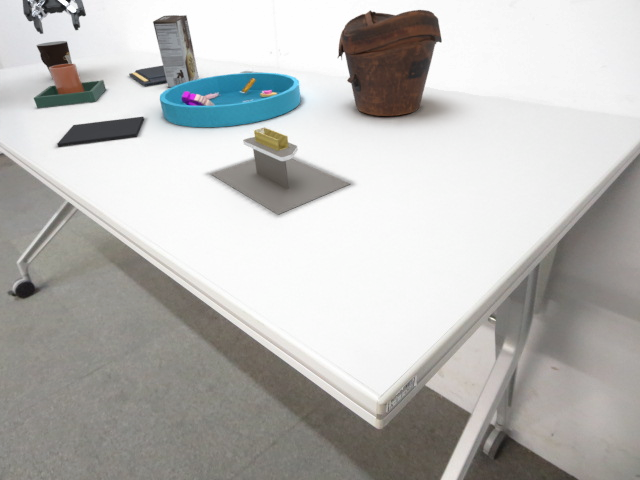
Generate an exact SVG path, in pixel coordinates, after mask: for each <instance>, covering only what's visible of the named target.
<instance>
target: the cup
mask: <svg viewBox="0 0 640 480" xmlns="http://www.w3.org/2000/svg"><path fill="white" fill-rule="evenodd" d="M49 70H50V72H51V74H50V76H51V75H52V76H51V78H52V80H53V83H54V85H55V86H56V89H57V91H58V94H68V93H77V92H85V91H84V88H83V85H82V78H81V76H80V74H79V70H78V67H77V65H76V63H72V64H61V65H55V66H52V67H49ZM49 70H48V71H49ZM50 72H49V73H50Z"/></svg>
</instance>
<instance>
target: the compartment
mask: <svg viewBox="0 0 640 480" xmlns="http://www.w3.org/2000/svg"><path fill="white" fill-rule="evenodd" d="M81 82H82V81H81ZM82 85H83V88H84V91H85V92H77V93H68V94H58V91H57V89H56V86H55V84H54V85H49V86H48V87H46V88H45V89H44V90H42V91H41V92H40V93H38V94H37V95H36V96H34V97H33V101H34V103H35V105H36V106H35V107H36V108H37V109H43V108H51V107H60V106H62V107H63V106H71V105H79V104H86V103H87V104H88V103H96V102H97V101H98V100H99V98H100V97H101V96H102V95H103V94H104V93H105V92H106V90H107V89H106V85H105V82H104V80H103V79H100V80H91V81H84V82H82Z"/></svg>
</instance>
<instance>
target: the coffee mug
mask: <svg viewBox="0 0 640 480" xmlns="http://www.w3.org/2000/svg"><path fill="white" fill-rule="evenodd" d="M68 43H69V42H68V41H67V40H58V41H57V40H56V41H49V42H42V43H38V44H36V48H37V51H38V52H39V55H40V60H41V61H42V63H43V64H44V65H45V66H46V68H47V70H48V72H49V74H50V76H51V77H52V75H51V72H50V70H49V67H52V66H55V65H61V64H73V61H72V57H71V53H70V49H69V44H68Z"/></svg>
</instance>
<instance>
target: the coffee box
mask: <svg viewBox="0 0 640 480" xmlns="http://www.w3.org/2000/svg"><path fill="white" fill-rule="evenodd" d="M152 23H153V28H154V33H155V36H156V41H157V45H158V49H159V54H160V58H161V62H162V65H163V67H164V72H165V76H166V80H167V83H166V85H167V88H171V87H174V86H176V85H179V84H182V83H185V82H189V81H193V80H197V79H199V71H198V67H197V62H196V61H197V60H196V57H195V51H194V45H193V41H192V36H191V31H190V26H189V21H188V16H187V14H185V15H177V14H176V15H173V14H172V15H163V16H160V17H159V18H156V19H155V20H153V21H152Z"/></svg>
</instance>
